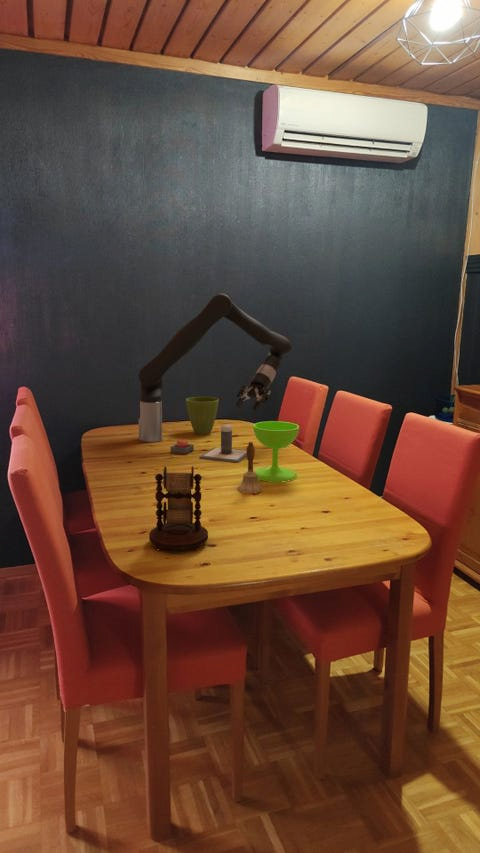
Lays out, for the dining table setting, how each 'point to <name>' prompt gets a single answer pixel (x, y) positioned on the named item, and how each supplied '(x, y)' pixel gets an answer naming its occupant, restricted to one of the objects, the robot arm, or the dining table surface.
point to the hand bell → (250, 474)
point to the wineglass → (275, 447)
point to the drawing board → (225, 455)
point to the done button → (182, 443)
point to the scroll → (178, 512)
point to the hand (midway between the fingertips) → (245, 408)
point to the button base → (182, 449)
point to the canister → (226, 439)
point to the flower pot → (202, 413)
